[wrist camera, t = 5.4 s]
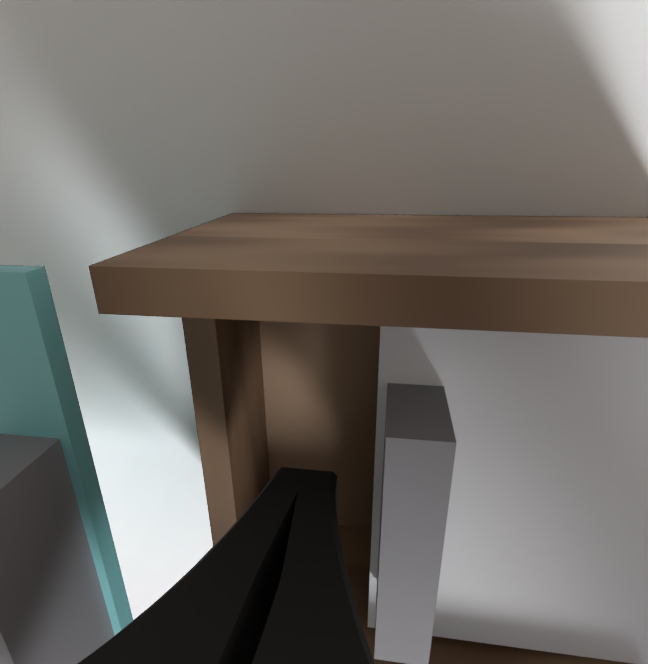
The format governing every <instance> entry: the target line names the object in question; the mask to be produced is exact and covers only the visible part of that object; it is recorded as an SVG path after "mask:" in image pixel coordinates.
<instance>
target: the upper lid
mask: <svg viewBox="0 0 648 664" xmlns="http://www.w3.org/2000/svg"><path fill="white" fill-rule="evenodd" d="M132 621H133V618H132V614H131V610H130V606H129V602H128V598H127V594H126V590H125V586H124V582H123V578H122V574H121V570H120V566H119V562H118V558H117V554H116V550H115V546H114V542H113V538H112V534H111V530H110V526H109V522H108V518H107V514H106V510H105V506H104V502H103V498H102V494H101V490H100V486H99V482H98V478H97V474H96V470H95V466H94V462H93V458H92V454H91V450H90V446H89V442H88V438H87V434H86V430H85V426H84V422H83V418H82V414H81V410H80V406H79V402H78V398H77V394H76V390H75V386H74V382H73V378H72V374H71V370H70V366H69V362H68V358H67V354H66V350H65V346H64V342H63V338H62V334H61V330H60V326H59V322H58V318H57V314H56V310H55V306H54V302H53V298H52V294H51V290H50V286H49V282H48V278H47V274H46V270H45V266H14V265H0V664H77V663H79V662H80V661H81V660H83V659H84V658H86V657H87V656H88V655H90V654H91V653H93V652H94V651H95V650H97V649H98V648H99V647H101V646H102V645H103V644H105V643H106V642H107V641H108V640H110V639H111V638H112V637H114V636H115V635H116V634H117V633H119V632H120V631H121V630H122V629H124V628H125V627H126V626H127V625H128V624H130V623H131V622H132Z"/></svg>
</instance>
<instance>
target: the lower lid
mask: <svg viewBox="0 0 648 664" xmlns="http://www.w3.org/2000/svg"><path fill="white" fill-rule="evenodd" d="M367 627H370V628H375V649H374V659H378V660H385V661H392V662H399V663H405V664H429V657H430V649H431V641H432V636H436V637H443V638H451V639H458V640H465V641H473V642H480V643H487V644H495V645H502V646H509V647H516V648H524V649H531V650H538V651H546V652H553V653H560V654H568V655H575V656H582V657H590V658H597V659H604V660H611V661H619V662H626V663H633V664H648V338H638V337H615V336H593V335H570V334H548V333H525V332H502V331H480V330H457V329H434V328H412V327H389V326H380V348H379V371H378V394H377V418H376V441H375V464H374V487H373V510H372V533H371V556H370V579H369V602H368V625H367Z"/></svg>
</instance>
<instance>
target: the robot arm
mask: <svg viewBox="0 0 648 664" xmlns="http://www.w3.org/2000/svg"><path fill="white" fill-rule="evenodd" d="M337 505H338V476H337V475H336V474H335V473H334V472H331V471H320V470H309V469H298V468H287V467H281V468H280V469H279V470H277V471H276V473H275V474H274V475H273V477H272V478H271V479H270V481H269V482H268V483H267V485H266V486H265V487H264V489H263V490H262V491H261V492H260V494H259V495H258V496H257V497H256V499H255V500H254V501H253V502H252V504H251V505H250V506H249V507H248V508H247V510H246V511H245V512H244V513H243V514H242V515H241V516H240V518H239V519H238V520H237V521H236V522H235V523H234V524H233V526H232V527H231V528H230V529H229V530H228V531H227V532H226V534H225V535H224V536H223V537H222V538H221V539H220V540H219V541H218V542H217V543H216V544H215V545H214V546H213V547H212V548H211V549H210V550H209V551H208V552H207V554H206V555H205V556H204V557H203V558H202V559H201V560H200V561H199V562H198V563H197V564H196V565H195V566H194V567H193V568H192V569H191V570H190V571H189V572H188V573H187V574H186V575H185V576H183V577H182V578H181V579H180V580H179V581H178V582H177V583H176V584H175V585H174V586H173V587H172V588H171V589H169V590H168V591H167V592H166V593H165V594H164V595H163V596H162V597H161V598H159V599H158V600H157V601H156V602H155V603H154V604H153V605H151V606H150V607H149V608H148V609H147V610H145V611H144V612H143V613H142V614H141V615H139V616H138V617H137V618H136V619H135V620H133V621H132V622H131V623H130V624H128V625H127V626H126V627H125V628H124V629H122V630H121V631H120V632H119V633H117V634H116V635H115V636H114V637H112V638H111V639H110V640H108V641H107V642H106V643H105V644H103V645H102V646H101V647H99V648H98V649H97V650H95V651H94V652H93V653H91V654H90V655H88V656H87V657H86V658H84V659H83V660H81V661H80V662H79V663H77V664H375V663H374V660H373V657H372V654H371V651H370V649H369V646H368V643H367V640H366V637H365V634H364V630H363V627H362V624H361V621H360V618H359V614H358V611H357V608H356V604H355V601H354V597H353V593H352V590H351V586H350V582H349V578H348V574H347V570H346V565H345V561H344V556H343V551H342V545H341V540H340V534H339V529H338V521H337Z"/></svg>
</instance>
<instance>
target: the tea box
mask: <svg viewBox="0 0 648 664" xmlns="http://www.w3.org/2000/svg"><path fill="white" fill-rule="evenodd" d="M89 270H90V274H91V279H92V284H93V288H94V293H95V298H96V303H97V307H98V312H99V314H118V315H140V316H163V317H182V322H183V329H184V337H185V344H186V351H187V359H188V366H189V373H190V380H191V388H192V395H193V402H194V410H195V417H196V424H197V431H198V439H199V446H200V453H201V460H202V468H203V475H204V482H205V490H206V497H207V504H208V511H209V519H210V526H211V533H212V541H213V546H214V545H215V544H216V543H217V542H218V541H219V540H220V539H221V538H222V537H223V536H224V535H225V534H226V532H227V531H228V530H229V529H230V528H231V527H232V526H233V524H234V523H235V522H236V521H237V520H238V519H239V518H240V516H241V515H242V514H243V513H244V512H245V511H246V510H247V508H248V507H249V506H250V505H251V504H252V502H253V501H254V500H255V499H256V497H257V496H258V495H259V494H260V492H261V491H262V490H263V489H264V487H265V486H266V485H267V483H268V482H269V481H270V479H271V478H272V477H273V475H274V474H275V473H276V471H277V470H279V469H280V468H281V467H287V468H298V469H309V470H320V471H331V472H334V473H335V474H336V475H337V476H338V505H337V521H338V529H339V534H340V540H341V545H342V551H343V556H344V561H345V565H346V570H347V574H348V578H349V582H350V586H351V590H352V593H353V597H354V601H355V604H356V608H357V611H358V614H359V618H360V621H361V624H362V627H363V630H364V634H365V637H366V640H367V643H368V646H369V649H370V651H371V654H372V657H373V660H374V663H375V664H405V663H399V662H392V661H385V660H378V659H374V649H375V628H370V627H367V625H368V602H369V579H370V556H371V533H372V510H373V487H374V464H375V441H376V418H377V394H378V371H379V348H380V326H389V327H412V328H434V329H457V330H480V331H502V332H525V333H548V334H570V335H593V336H615V337H638V338H648V217H561V216H461V215H362V214H263V213H231V214H229V215H226V216H223V217H221V218H218V219H215V220H212V221H210V222H207V223H204V224H202V225H199V226H196V227H193V228H191V229H188V230H185V231H183V232H180V233H177V234H174V235H172V236H169V237H166V238H164V239H161V240H158V241H155V242H153V243H150V244H147V245H145V246H142V247H139V248H136V249H134V250H131V251H128V252H126V253H123V254H120V255H117V256H115V257H112V258H109V259H107V260H104V261H101V262H98V263H96V264H93V265H90V266H89ZM429 664H633V663H626V662H619V661H611V660H604V659H597V658H590V657H582V656H575V655H568V654H560V653H553V652H546V651H538V650H531V649H524V648H516V647H509V646H502V645H495V644H487V643H480V642H473V641H465V640H458V639H451V638H443V637H436V636H432V641H431V649H430V657H429Z"/></svg>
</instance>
